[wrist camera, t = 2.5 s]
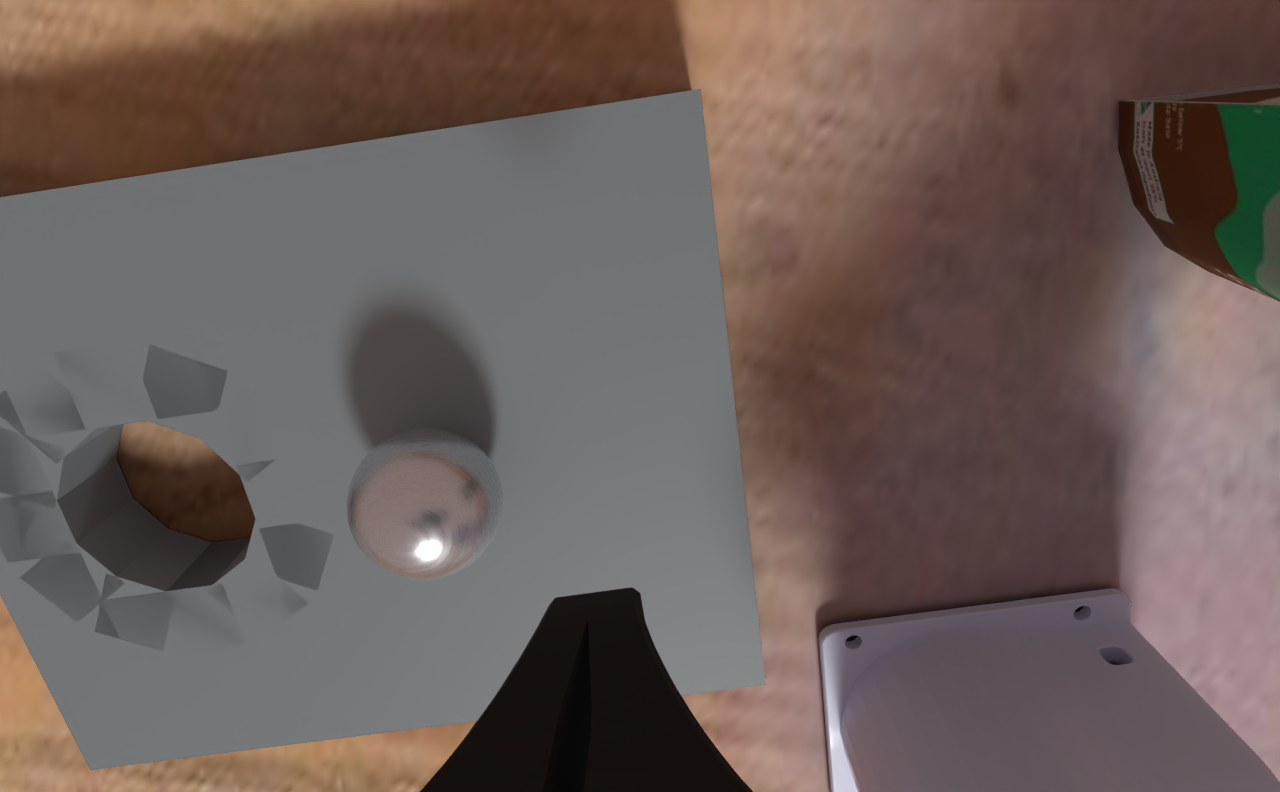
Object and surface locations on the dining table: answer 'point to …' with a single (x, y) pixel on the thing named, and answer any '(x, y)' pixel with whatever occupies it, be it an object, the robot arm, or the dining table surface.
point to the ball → (424, 504)
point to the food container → (1210, 178)
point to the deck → (370, 422)
